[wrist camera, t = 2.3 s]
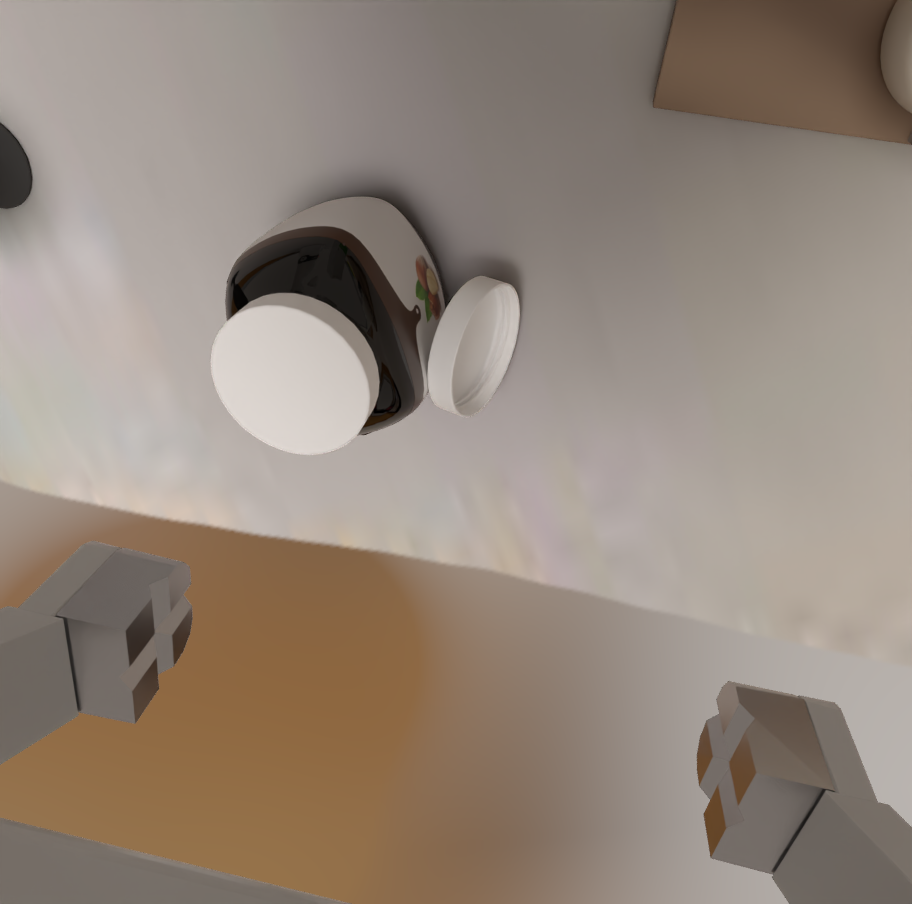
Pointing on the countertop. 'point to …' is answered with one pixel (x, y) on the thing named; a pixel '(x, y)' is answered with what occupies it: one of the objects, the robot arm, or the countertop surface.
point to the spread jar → (353, 330)
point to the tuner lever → (898, 53)
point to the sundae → (13, 171)
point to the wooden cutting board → (783, 65)
